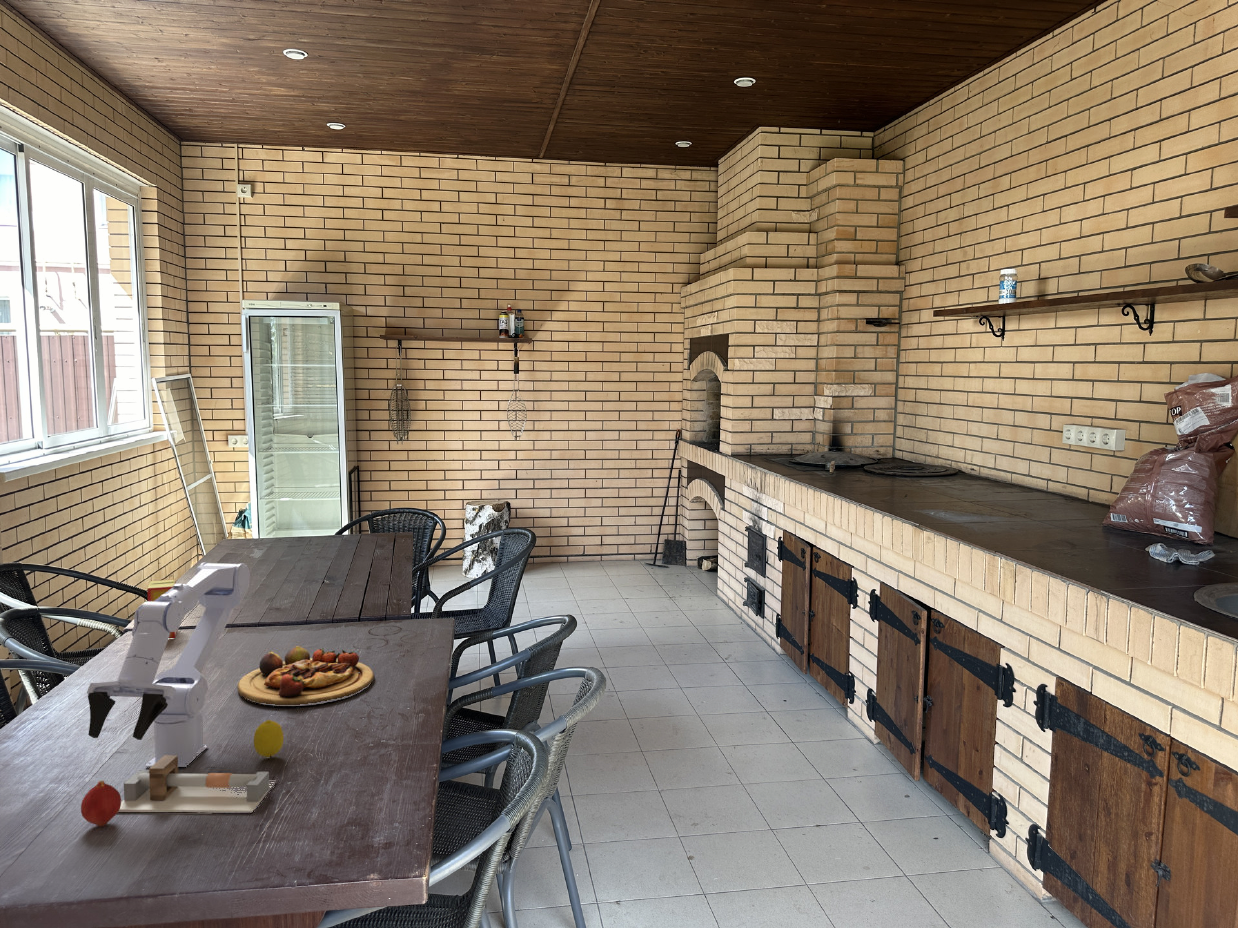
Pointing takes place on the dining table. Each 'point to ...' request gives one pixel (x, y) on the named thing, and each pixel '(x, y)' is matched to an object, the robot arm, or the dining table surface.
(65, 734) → the dining table surface
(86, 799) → the red pomegranate
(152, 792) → the collar
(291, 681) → the wooden plate with food
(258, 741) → the lemon
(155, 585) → the baking soda box
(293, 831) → the dining table surface
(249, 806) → the rail
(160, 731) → the robot arm
